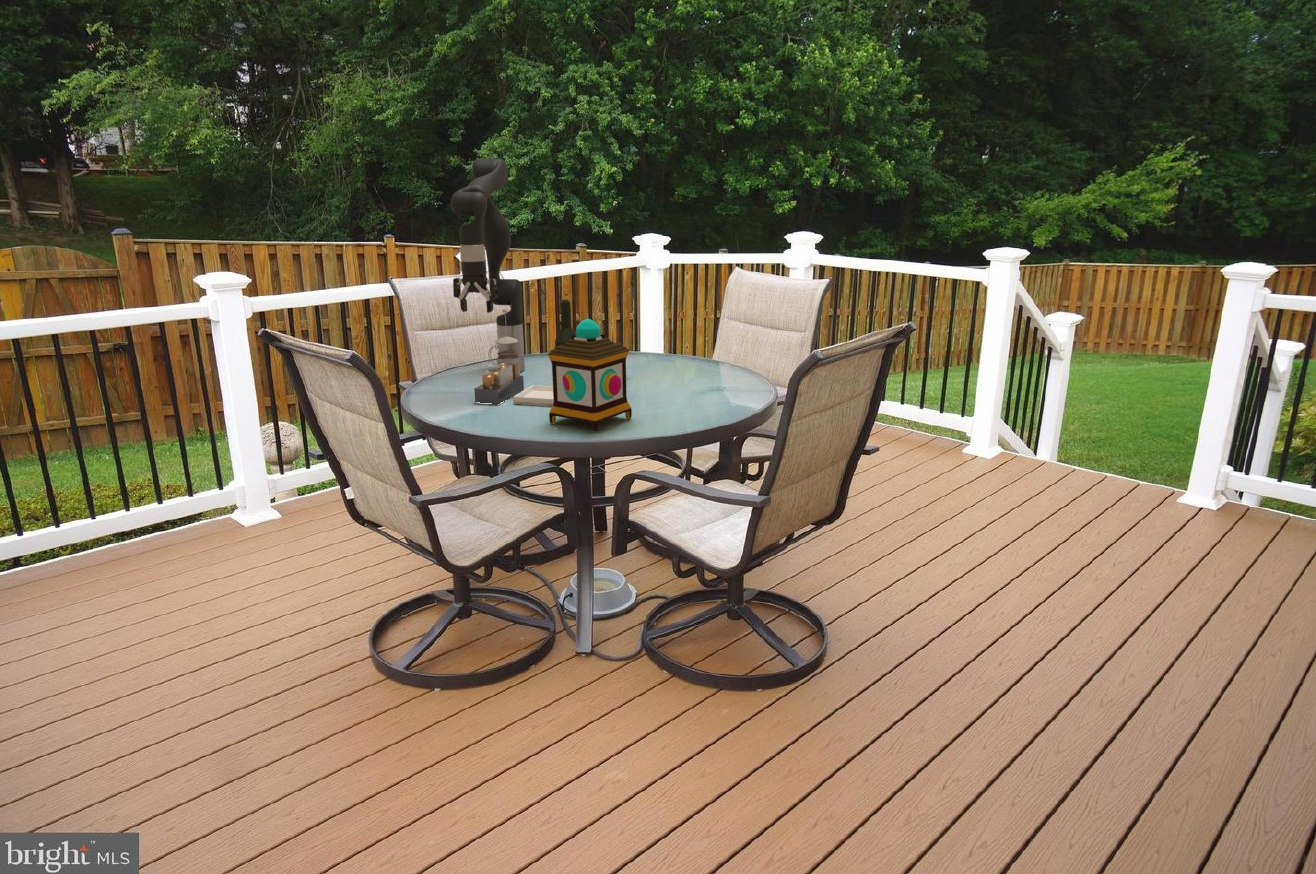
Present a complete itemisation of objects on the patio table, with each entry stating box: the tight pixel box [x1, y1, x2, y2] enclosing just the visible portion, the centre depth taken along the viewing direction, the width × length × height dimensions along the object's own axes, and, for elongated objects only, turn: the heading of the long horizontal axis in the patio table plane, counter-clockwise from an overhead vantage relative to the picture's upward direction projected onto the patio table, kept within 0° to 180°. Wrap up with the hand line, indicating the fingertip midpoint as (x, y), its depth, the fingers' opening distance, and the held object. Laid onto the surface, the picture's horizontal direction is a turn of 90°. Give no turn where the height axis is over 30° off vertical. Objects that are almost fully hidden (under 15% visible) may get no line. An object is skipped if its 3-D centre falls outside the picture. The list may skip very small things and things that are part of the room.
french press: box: [487, 308, 521, 376], centre depth 303 cm, size 10×12×25 cm
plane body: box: [473, 363, 525, 405], centre depth 282 cm, size 20×8×9 cm, turn 165°
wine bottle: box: [554, 298, 576, 348], centre depth 288 cm, size 8×8×30 cm
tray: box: [512, 384, 554, 408], centre depth 279 cm, size 16×14×2 cm
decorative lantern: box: [547, 318, 633, 433], centre depth 250 cm, size 20×20×30 cm
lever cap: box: [484, 363, 513, 386], centre depth 281 cm, size 10×5×6 cm, turn 165°
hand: (477, 311), depth 273 cm, fingers open, 8 cm apart
